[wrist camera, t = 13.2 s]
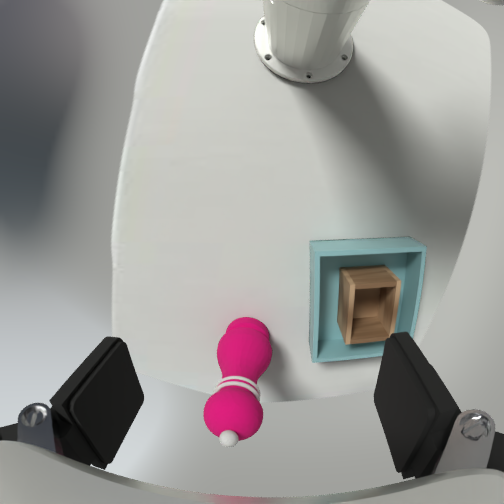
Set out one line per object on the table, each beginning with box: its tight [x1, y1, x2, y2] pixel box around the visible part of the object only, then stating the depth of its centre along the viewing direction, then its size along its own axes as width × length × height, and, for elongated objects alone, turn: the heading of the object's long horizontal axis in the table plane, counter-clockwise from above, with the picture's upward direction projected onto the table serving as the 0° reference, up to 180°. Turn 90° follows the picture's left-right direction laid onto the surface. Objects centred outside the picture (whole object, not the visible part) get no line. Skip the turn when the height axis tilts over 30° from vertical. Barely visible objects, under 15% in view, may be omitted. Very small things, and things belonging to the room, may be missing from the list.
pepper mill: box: [204, 317, 272, 447], centre depth 32 cm, size 7×7×20 cm
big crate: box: [309, 237, 427, 363], centre depth 36 cm, size 15×14×5 cm
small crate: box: [337, 265, 401, 345], centre depth 35 cm, size 8×6×6 cm
